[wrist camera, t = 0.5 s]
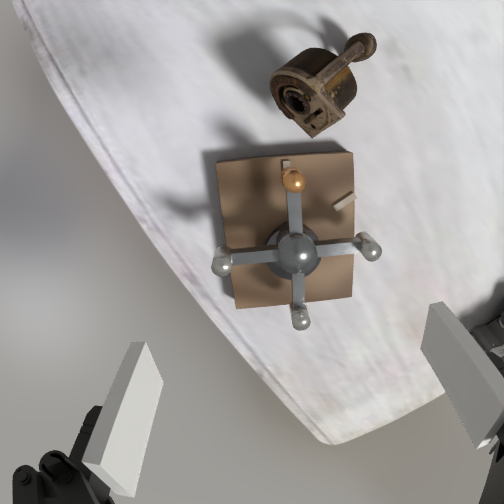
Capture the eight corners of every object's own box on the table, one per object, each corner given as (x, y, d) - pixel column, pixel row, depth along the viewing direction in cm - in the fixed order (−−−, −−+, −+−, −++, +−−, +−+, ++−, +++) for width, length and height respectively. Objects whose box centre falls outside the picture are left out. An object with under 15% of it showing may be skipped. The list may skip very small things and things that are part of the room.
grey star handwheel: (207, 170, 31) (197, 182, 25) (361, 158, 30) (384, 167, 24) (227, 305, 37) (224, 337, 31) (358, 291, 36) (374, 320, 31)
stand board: (217, 161, 32) (215, 164, 30) (349, 151, 32) (355, 153, 29) (236, 300, 39) (236, 310, 37) (348, 288, 38) (353, 297, 36)
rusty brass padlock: (253, 107, 30) (254, 101, 21) (312, 14, 25) (334, -22, 16) (313, 141, 31) (338, 150, 22) (369, 49, 27) (410, 28, 18)
